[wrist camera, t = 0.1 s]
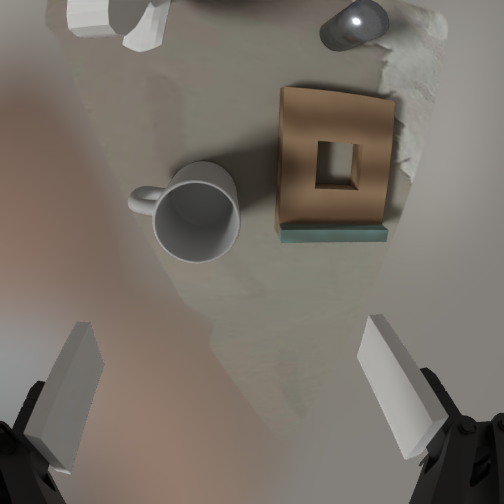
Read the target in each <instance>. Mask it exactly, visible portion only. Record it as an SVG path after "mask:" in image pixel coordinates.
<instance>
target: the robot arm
mask: <svg viewBox="0 0 504 504" xmlns="http://www.w3.org/2000/svg"><path fill="white" fill-rule="evenodd" d="M357 358H358V360H359V362H360V364H361V366H362V368H363V370H364V372H365V374H366V377H367V379H368V381H369V383H370V385H371V387H372V389H373V391H374V393H375V395H376V397H377V400H378V402H379V404H380V406H381V408H382V410H383V412H384V414H385V417H386V419H387V421H388V423H389V425H390V428H391V429H392V432H393V434H394V436H395V439H396V441H397V443H398V445H399V447H400V450H401V452H402V454H403V457H404V459H405V460H406V459H409V458H411V457H415V456H418V455H420V454H421V453H422V451H423V450H424V449H425V448H427V450H428V452H429V453H428V454H427V455H426V456H425V458H424V459H423V460H422V461H421V462H420V464H419V466H421V465H422V464H423V463H424V465H423V468H422V470H421V473H420V476H419V479H418V482H417V484H416V487H415V490H414V492H413V495H412V497H411V500H410V502H409V504H504V413H499V414H497V415H496V416H494V418H493V419H492V420H491V421H486V422H476V421H475V420H474V419H473V418H471V417H469V416H463V415H461V413H460V412H459V410H458V408H457V407H456V405H455V404H454V402H453V400H452V399H451V397H450V396H449V394H448V393H447V391H445V388H444V387H443V385H442V384H441V382H440V380H439V379H438V377H437V376H436V374H434V373H433V372H432V371H431V370H429V369H428V368H422V369H419V368H418V366H417V365H416V363H415V361H414V360H413V358H412V357H411V355H410V354H409V352H408V351H407V349H406V348H405V346H404V345H403V343H402V342H401V340H400V339H399V337H398V336H397V334H396V333H395V331H394V330H393V329H392V327H391V326H390V324H389V323H388V321H387V320H386V318H385V317H384V315H383V314H377V315H369V317H368V320H367V324H366V328H365V332H364V335H363V338H362V342H361V346H360V349H359V352H358V355H357ZM103 367H104V362H103V359H102V356H101V353H100V351H99V348H98V345H97V342H96V339H95V336H94V332H93V330H92V326H91V323H90V322H76V324H75V326H74V327H73V329H72V331H71V333H70V335H69V337H68V339H67V340H66V342H65V344H64V346H63V348H62V350H61V352H60V354H59V356H58V358H57V360H56V362H55V364H54V366H53V368H52V370H51V372H50V374H49V377H48V378H47V380H46V382H43V381H37V382H36V383H35V384H34V385H33V387H31V388H30V390H29V393H28V395H27V397H26V399H25V401H24V403H23V407H22V408H21V410H20V412H19V414H18V417H17V419H16V421H15V423H14V426H13V428H12V429H11V428H10V427H9V425H8V424H6V423H5V422H3V421H0V504H66V503H65V501H64V499H63V497H62V496H61V494H60V492H59V490H58V488H57V486H56V484H55V482H54V480H53V478H52V476H51V474H50V473H49V471H48V467H49V464H50V465H51V466H52V467H53V468H54V469H55V470H56V471H59V472H64V473H68V474H72V470H73V466H74V463H75V459H76V455H77V451H78V447H79V444H80V440H81V437H82V433H83V430H84V426H85V423H86V420H87V416H88V413H89V410H90V407H91V404H92V400H93V397H94V394H95V391H96V388H97V385H98V382H99V379H100V376H101V373H102V370H103Z"/></svg>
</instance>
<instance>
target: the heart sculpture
mask: <svg viewBox="0 0 504 504" xmlns="http://www.w3.org/2000/svg"><path fill="white" fill-rule="evenodd" d="M170 3H171V0H68V4H67V21H68V28H69V29H70V30H71V31H72V32H73V33H74V34H75V35H77V36H78V37H87V38H94V37H108V36H124V40H123V45H124V46H126V47H127V48H129V49H132V50H134V51H138V52H143V51H148V50H150V49H153V48H155V47H158V46H160V45H162V40H163V35H164V30H165V25H166V20H167V16H168V11H169V7H170Z"/></svg>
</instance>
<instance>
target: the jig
mask: <svg viewBox="0 0 504 504" xmlns="http://www.w3.org/2000/svg"><path fill="white" fill-rule="evenodd" d="M394 111H395V101H390V100H385V99H380V98H374V97H368V96H362V95H356V94H349V93H342V92H334V91H326V90H316V89H306V88H294V87H283V88H281V89H280V112H279V141H278V167H277V191H276V213H275V229H276V232H277V234H278V236H279V238H280V241H281V243H303V242H386V241H387V235H388V229H387V228H385V227H384V226H383V225H382V220H383V213H384V207H385V200H386V193H387V185H388V177H389V169H390V160H391V150H392V139H393V126H394ZM318 141H328V142H340V143H351V144H354V145H353V157H352V169H351V179H350V185H344V184H320V183H315V180H316V165H317V150H318Z"/></svg>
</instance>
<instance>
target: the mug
mask: <svg viewBox="0 0 504 504" xmlns="http://www.w3.org/2000/svg"><path fill="white" fill-rule="evenodd" d="M147 199H154V200H147ZM128 206H129V208H130V209H131V210H132V211H135V212H137V213H141V214H146V215H151V216H153V229H154V233H155V235H156V238H157V240H158V242H159V243H160V245H161V246H162V247H163V248H164V250H165V251H167V252H168V253H169V254H170V255H172V256H173V257H175V258H177V259H179V260H182V261H185V262H189V263H206V262H210V261H213V260H216V259H218V258H219V257H221V256H223V255H224V254H225V253H226V252H228V251H229V250H230V249H231V247H232V246H233V245H234V243H235V242H236V240H237V238H238V235H239V232H240V226H241V216H240V209H239V204H238V198H237V190H236V186H235V183H234V181H233V179H232V177H231V175H230V174H229V173H228V172H227V171H226V170H225V169H224V168H222V167H221V166H219V165H217V164H215V163H212V162H206V161H199V162H194V163H190V164H188V165H186V166H184V167H183V168H181V169H180V170H179V171H178V172H177V173H176V174H175V175H174V177H173V178H172V180H171V181H170V183H169V184H168V185H167V187H166V188H160V187H153V186H142V187H139V188H137V189H135V190H134V191H132V192H131V194H130V196H129V199H128Z"/></svg>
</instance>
